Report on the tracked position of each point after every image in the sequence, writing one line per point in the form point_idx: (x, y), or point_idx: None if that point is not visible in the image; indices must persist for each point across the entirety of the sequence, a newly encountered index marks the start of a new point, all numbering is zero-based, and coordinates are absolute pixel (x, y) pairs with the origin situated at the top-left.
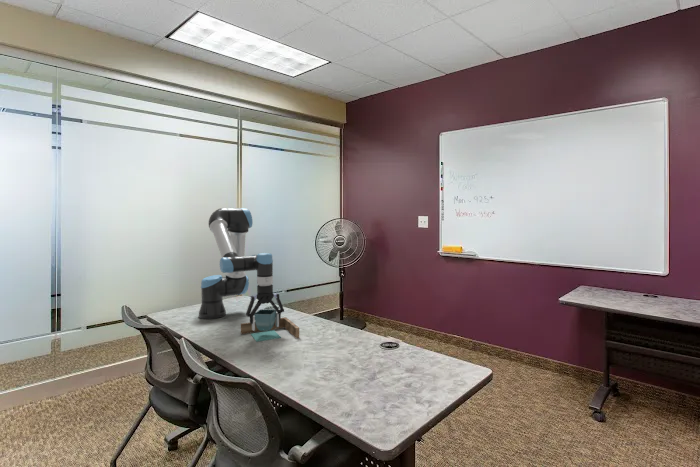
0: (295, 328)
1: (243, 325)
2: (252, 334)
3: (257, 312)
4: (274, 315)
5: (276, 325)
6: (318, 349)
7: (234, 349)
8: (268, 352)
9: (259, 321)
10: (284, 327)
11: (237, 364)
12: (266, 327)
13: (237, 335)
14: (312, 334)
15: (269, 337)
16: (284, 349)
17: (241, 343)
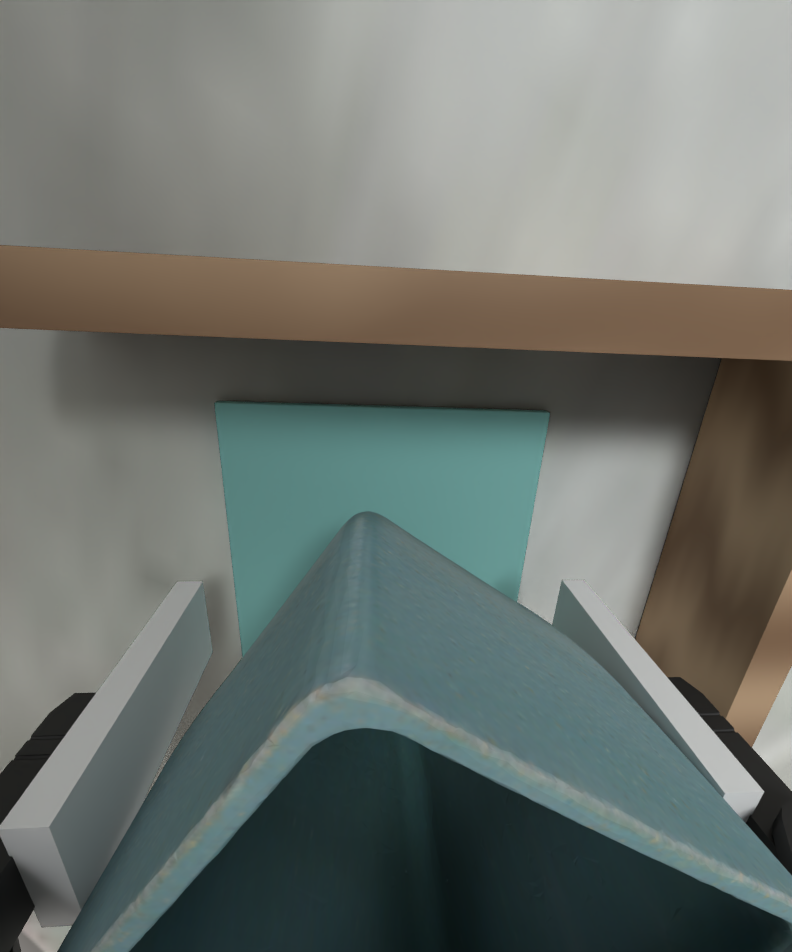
0: None
1: (13, 325)
2: (235, 452)
3: (148, 918)
4: (601, 867)
5: (560, 618)
6: None
7: (14, 744)
8: None
9: (239, 831)
10: (724, 364)
11: (54, 942)
12: (366, 742)
13: (22, 346)
14: (780, 691)
15: None
16: None
17: (83, 640)
